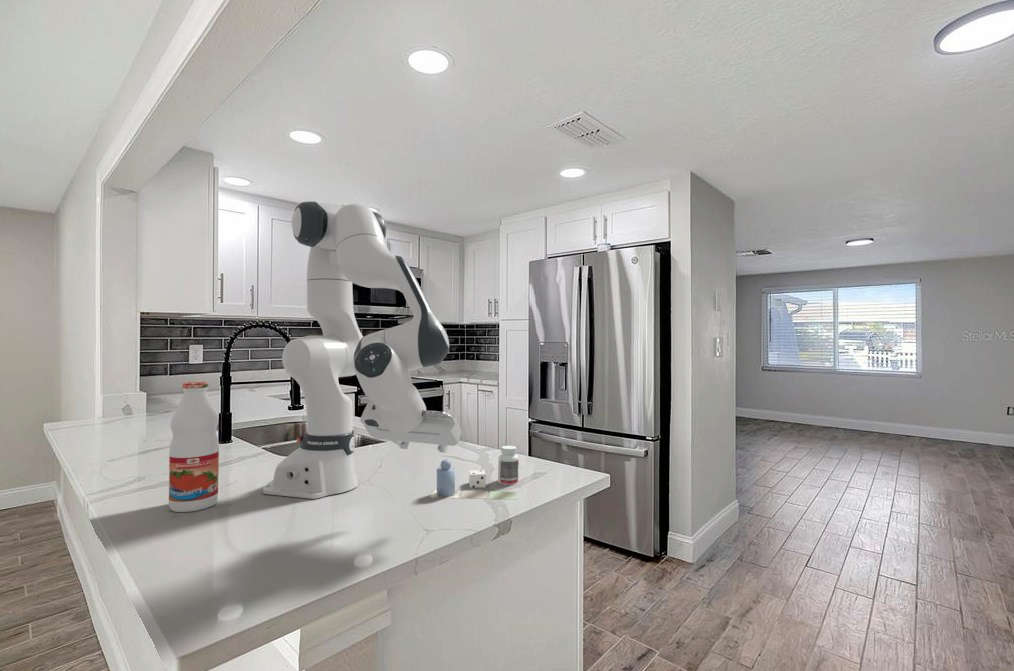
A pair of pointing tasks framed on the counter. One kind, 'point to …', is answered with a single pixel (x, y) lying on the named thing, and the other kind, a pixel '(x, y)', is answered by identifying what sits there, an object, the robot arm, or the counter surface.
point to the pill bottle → (508, 466)
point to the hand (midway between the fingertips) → (424, 447)
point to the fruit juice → (194, 451)
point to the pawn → (445, 479)
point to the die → (477, 478)
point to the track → (480, 495)
